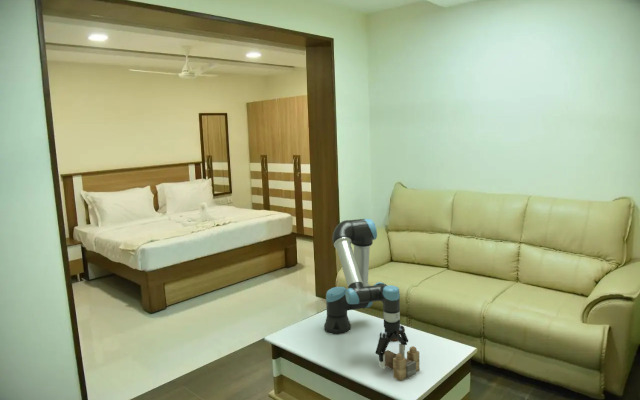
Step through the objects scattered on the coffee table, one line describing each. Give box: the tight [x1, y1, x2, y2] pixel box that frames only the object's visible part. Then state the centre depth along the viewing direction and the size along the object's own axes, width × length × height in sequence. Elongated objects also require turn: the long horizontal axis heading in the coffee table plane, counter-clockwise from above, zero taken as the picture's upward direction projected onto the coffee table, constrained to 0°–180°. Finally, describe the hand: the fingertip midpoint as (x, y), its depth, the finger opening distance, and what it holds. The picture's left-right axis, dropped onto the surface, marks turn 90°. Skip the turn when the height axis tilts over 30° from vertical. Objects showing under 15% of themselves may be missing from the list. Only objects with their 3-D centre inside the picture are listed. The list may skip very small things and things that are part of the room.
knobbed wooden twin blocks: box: [392, 345, 420, 382], centre depth 201 cm, size 5×14×11 cm, turn 129°
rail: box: [384, 349, 412, 370], centre depth 206 cm, size 15×4×6 cm, turn 39°
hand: (392, 362), depth 208 cm, fingers open, 13 cm apart
